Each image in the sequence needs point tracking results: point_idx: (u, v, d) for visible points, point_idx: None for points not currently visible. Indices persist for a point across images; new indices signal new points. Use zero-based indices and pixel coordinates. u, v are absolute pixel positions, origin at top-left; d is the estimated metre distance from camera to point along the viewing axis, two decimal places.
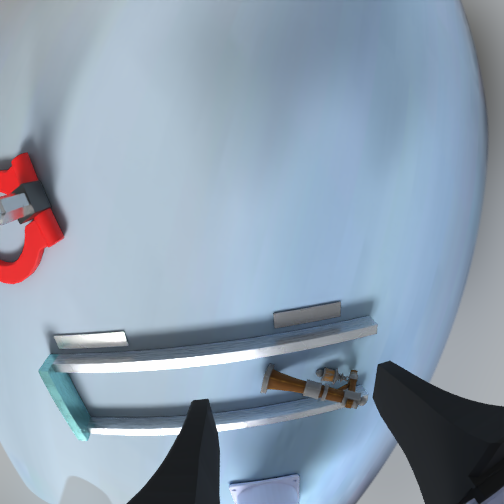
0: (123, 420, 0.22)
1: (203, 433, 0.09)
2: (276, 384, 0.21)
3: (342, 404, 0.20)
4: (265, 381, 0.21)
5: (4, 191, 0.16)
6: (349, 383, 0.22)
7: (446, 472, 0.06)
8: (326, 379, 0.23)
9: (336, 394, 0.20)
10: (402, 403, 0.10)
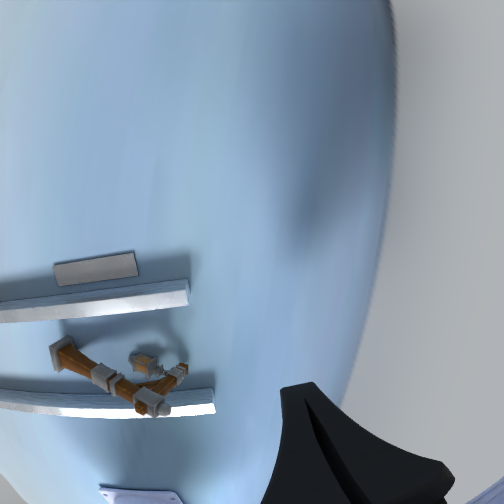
0: None
1: (308, 416, 0.09)
2: (66, 362, 0.14)
3: None
4: (52, 355, 0.14)
5: None
6: (161, 380, 0.15)
7: None
8: (139, 370, 0.16)
9: (126, 390, 0.13)
10: (315, 430, 0.09)
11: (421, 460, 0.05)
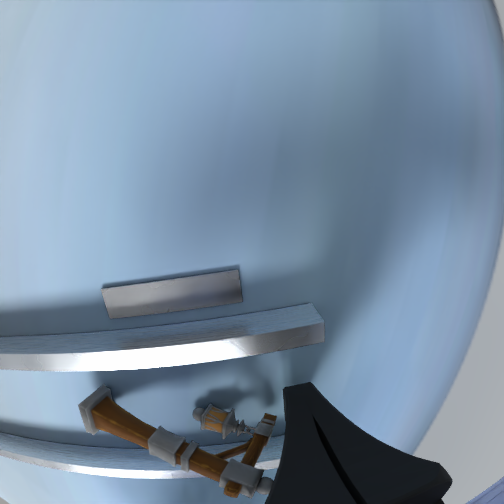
0: None
1: (312, 416, 0.09)
2: (105, 424, 0.10)
3: (222, 486, 0.09)
4: (84, 415, 0.10)
5: None
6: (249, 443, 0.10)
7: None
8: (210, 427, 0.11)
9: (207, 467, 0.09)
10: None
11: (418, 461, 0.05)
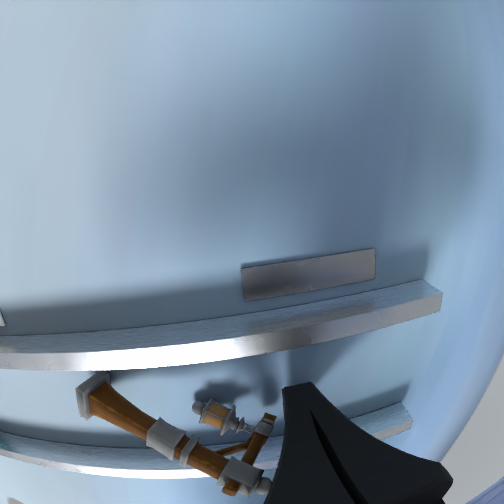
0: (30, 442, 0.12)
1: (311, 416, 0.09)
2: (101, 411, 0.10)
3: (220, 483, 0.09)
4: (81, 400, 0.09)
5: None
6: (249, 442, 0.10)
7: None
8: (209, 422, 0.11)
9: (207, 463, 0.09)
10: None
11: (419, 461, 0.05)
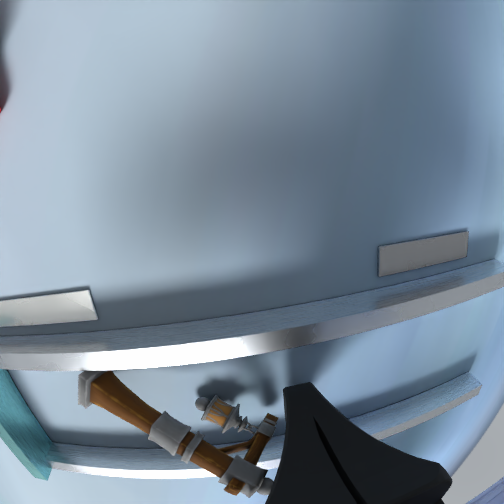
0: (101, 452, 0.12)
1: (312, 416, 0.09)
2: (103, 400, 0.10)
3: (222, 482, 0.08)
4: (82, 387, 0.09)
5: None
6: (252, 441, 0.10)
7: None
8: (212, 419, 0.11)
9: (212, 461, 0.09)
10: None
11: (418, 461, 0.05)
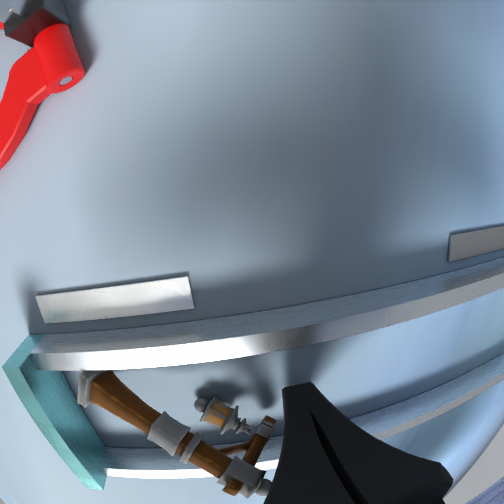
0: (166, 453, 0.12)
1: (311, 416, 0.09)
2: (103, 399, 0.10)
3: (220, 482, 0.09)
4: (82, 386, 0.09)
5: None
6: (250, 443, 0.10)
7: None
8: (210, 420, 0.11)
9: (211, 461, 0.09)
10: None
11: (419, 461, 0.05)
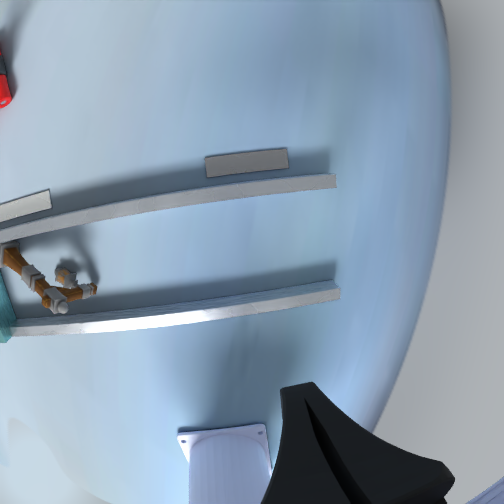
0: (45, 319, 0.19)
1: (308, 416, 0.09)
2: (8, 259, 0.16)
3: None
4: (0, 251, 0.16)
5: None
6: (71, 289, 0.17)
7: None
8: (59, 280, 0.18)
9: (41, 286, 0.15)
10: (315, 430, 0.09)
11: (421, 460, 0.05)
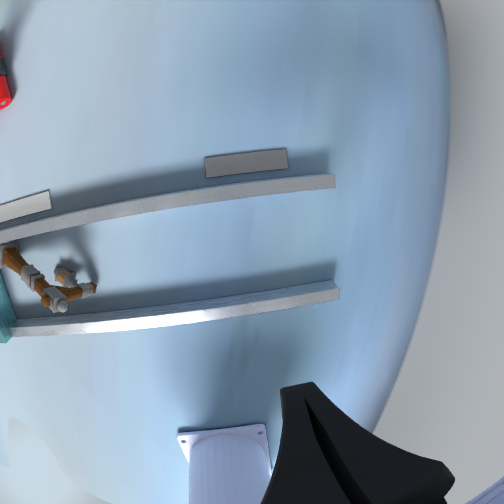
0: (45, 319, 0.19)
1: (308, 416, 0.09)
2: (7, 260, 0.16)
3: None
4: None
5: None
6: (70, 288, 0.17)
7: None
8: (59, 280, 0.18)
9: (41, 285, 0.15)
10: (315, 430, 0.09)
11: (421, 460, 0.05)
